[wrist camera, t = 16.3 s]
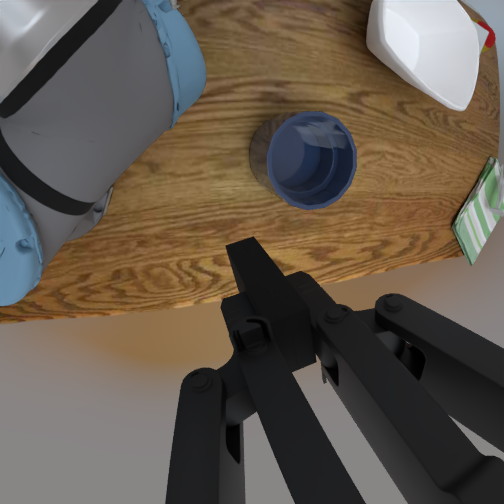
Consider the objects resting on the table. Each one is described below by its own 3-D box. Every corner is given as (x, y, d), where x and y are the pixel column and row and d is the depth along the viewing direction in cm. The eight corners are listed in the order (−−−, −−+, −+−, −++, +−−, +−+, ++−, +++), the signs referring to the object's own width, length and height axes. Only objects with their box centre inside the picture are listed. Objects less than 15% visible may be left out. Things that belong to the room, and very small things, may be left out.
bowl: (419, 122, 44) (468, 128, 33) (320, 59, 36) (367, 44, 25) (439, 33, 37) (483, 28, 27) (353, -34, 29) (394, -57, 19)
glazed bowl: (252, 200, 42) (270, 216, 35) (245, 115, 37) (263, 112, 30) (327, 190, 45) (356, 203, 37) (324, 112, 39) (355, 112, 32)
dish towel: (448, 224, 55) (457, 228, 53) (489, 153, 52) (497, 155, 50) (468, 264, 63) (475, 268, 60) (504, 199, 60) (511, 202, 57)
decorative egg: (467, 29, 38) (500, 27, 29) (469, 58, 41) (504, 59, 32) (446, 14, 35) (481, 9, 26) (449, 44, 38) (486, 42, 30)
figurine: (503, 211, 49) (509, 164, 48) (486, 207, 54) (492, 162, 52) (508, 217, 52) (514, 173, 50) (491, 213, 56) (498, 170, 55)
